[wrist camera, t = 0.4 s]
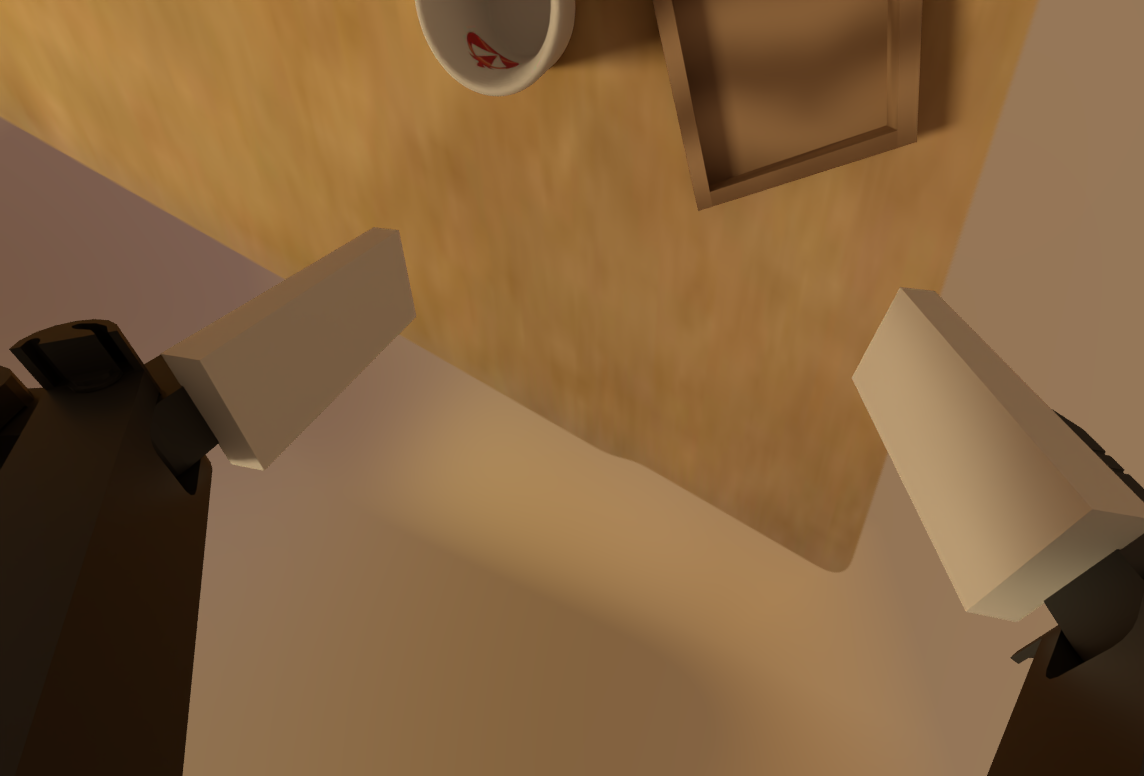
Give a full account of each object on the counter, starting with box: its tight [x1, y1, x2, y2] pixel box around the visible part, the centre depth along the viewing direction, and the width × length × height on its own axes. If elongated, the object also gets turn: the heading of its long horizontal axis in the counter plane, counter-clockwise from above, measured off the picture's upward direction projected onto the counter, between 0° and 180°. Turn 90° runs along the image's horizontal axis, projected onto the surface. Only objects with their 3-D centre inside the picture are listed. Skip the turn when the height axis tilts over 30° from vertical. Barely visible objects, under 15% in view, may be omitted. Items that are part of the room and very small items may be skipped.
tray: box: [652, 0, 923, 211], centre depth 27 cm, size 13×13×2 cm
